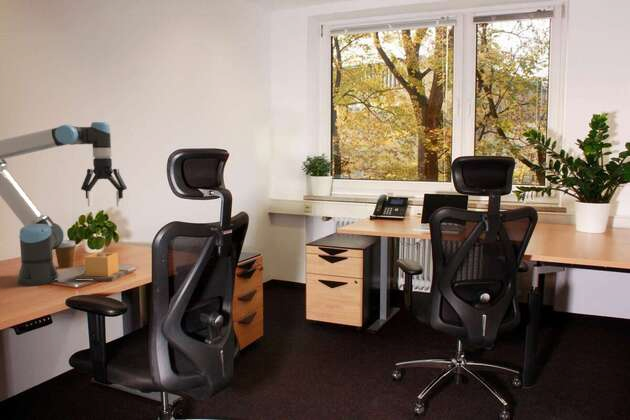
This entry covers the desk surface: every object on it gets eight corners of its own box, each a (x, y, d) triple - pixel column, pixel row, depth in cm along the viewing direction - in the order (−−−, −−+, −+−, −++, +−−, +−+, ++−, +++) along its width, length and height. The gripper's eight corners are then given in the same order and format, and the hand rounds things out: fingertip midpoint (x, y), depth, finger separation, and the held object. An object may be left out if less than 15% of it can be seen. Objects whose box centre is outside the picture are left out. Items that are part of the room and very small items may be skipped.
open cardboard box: (108, 276, 228) (107, 257, 228) (85, 275, 229) (84, 257, 229) (118, 270, 238) (118, 253, 238) (97, 270, 239) (96, 252, 238)
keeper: (111, 281, 225) (111, 258, 224) (75, 280, 227) (74, 258, 226) (128, 272, 241) (127, 251, 240) (94, 272, 243) (93, 251, 242)
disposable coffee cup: (68, 269, 249) (67, 243, 248) (50, 268, 251) (48, 243, 250) (81, 265, 258) (80, 240, 257) (63, 264, 260) (62, 239, 259)
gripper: (133, 157, 239) (135, 205, 241) (80, 158, 243) (83, 205, 245) (124, 157, 232) (127, 206, 234) (71, 158, 235) (73, 206, 237)
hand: (104, 206), depth 239 cm, fingers open, 13 cm apart
